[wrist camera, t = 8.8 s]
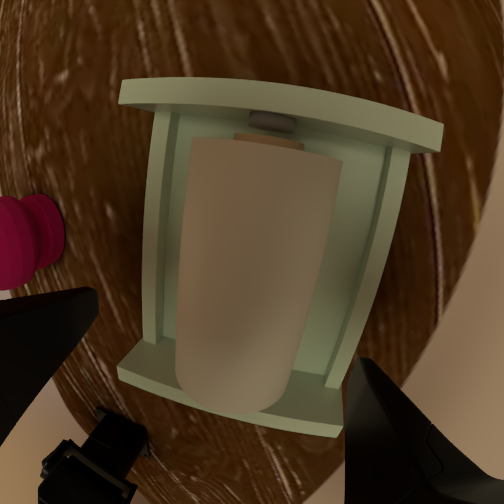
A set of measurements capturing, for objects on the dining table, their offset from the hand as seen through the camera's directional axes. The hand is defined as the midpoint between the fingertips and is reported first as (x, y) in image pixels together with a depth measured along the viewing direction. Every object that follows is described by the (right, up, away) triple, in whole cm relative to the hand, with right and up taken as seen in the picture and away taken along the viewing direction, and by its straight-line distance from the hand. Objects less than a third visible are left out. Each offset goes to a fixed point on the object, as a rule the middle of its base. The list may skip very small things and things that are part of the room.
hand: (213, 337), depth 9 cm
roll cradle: (+2, +3, +9) cm, 10 cm away
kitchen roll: (+1, +1, +5) cm, 6 cm away
